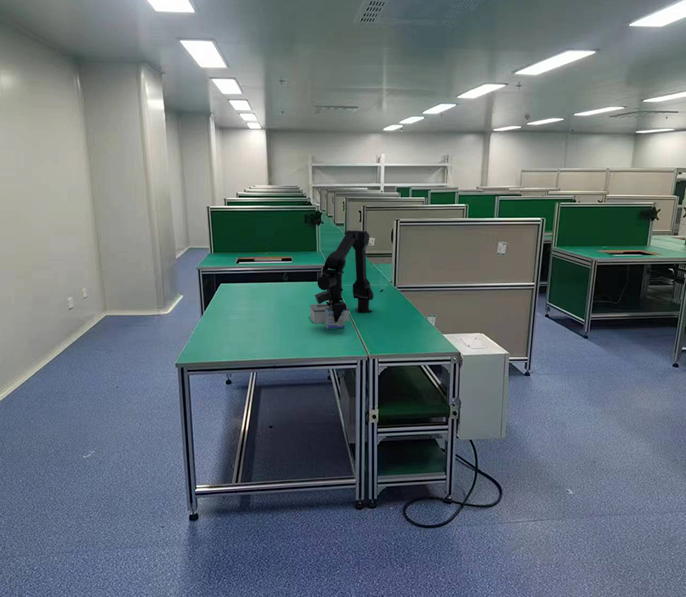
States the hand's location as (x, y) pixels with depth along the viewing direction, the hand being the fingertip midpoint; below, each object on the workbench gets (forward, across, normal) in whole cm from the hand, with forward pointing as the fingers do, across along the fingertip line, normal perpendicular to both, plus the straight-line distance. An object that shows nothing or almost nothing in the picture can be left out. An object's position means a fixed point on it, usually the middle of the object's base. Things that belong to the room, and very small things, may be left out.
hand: (334, 320), depth 208 cm
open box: (+3, -12, 0) cm, 12 cm away
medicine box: (+3, 0, 0) cm, 3 cm away
